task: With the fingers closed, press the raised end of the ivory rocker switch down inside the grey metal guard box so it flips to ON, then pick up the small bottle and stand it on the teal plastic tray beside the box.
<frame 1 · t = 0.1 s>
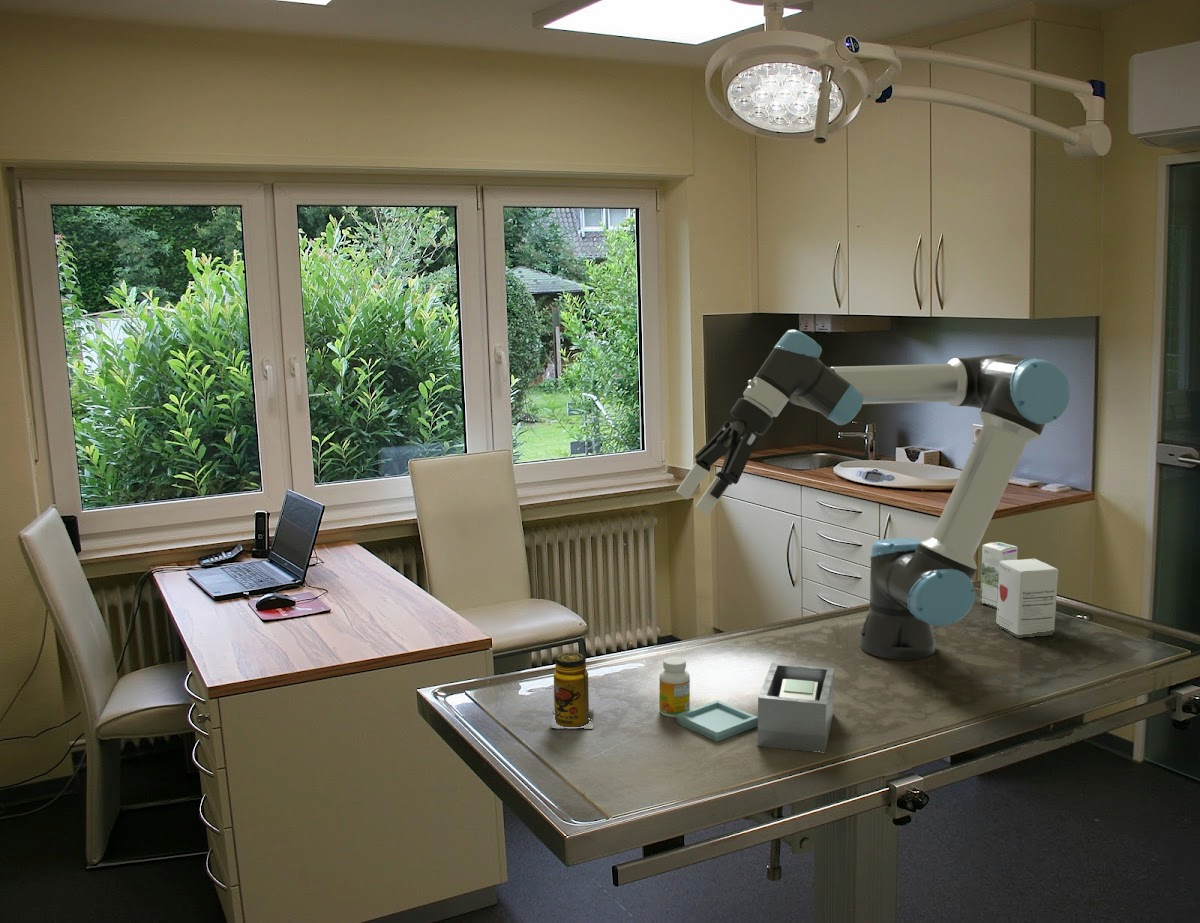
hand: (691, 503, 203), 36 cm above the table, tool tilted 35°, fingers open, 13 cm apart
tray: (717, 724, 193), on the table
condiment: (572, 721, 195), on the table
supplement bottle: (674, 713, 198), on the table
guard box: (796, 729, 191), on the table
supplement box: (1024, 632, 240), on the table
syrup box: (997, 606, 258), on the table
rocker: (797, 700, 190), point 5 cm above the table, hinge at 13.0°
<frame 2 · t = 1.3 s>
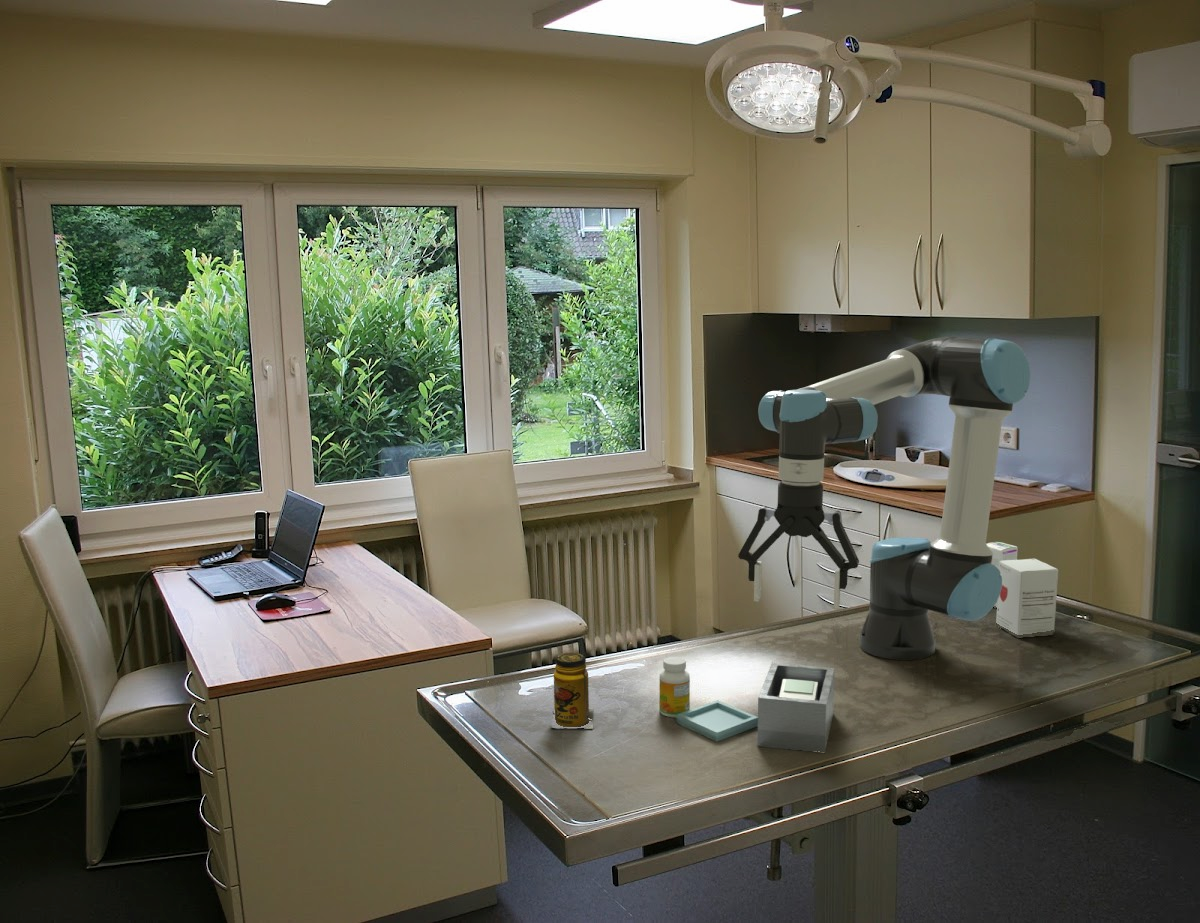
hand: (796, 603, 191), 21 cm above the table, tool pointing down, fingers open, 13 cm apart
nothing on the table moved.
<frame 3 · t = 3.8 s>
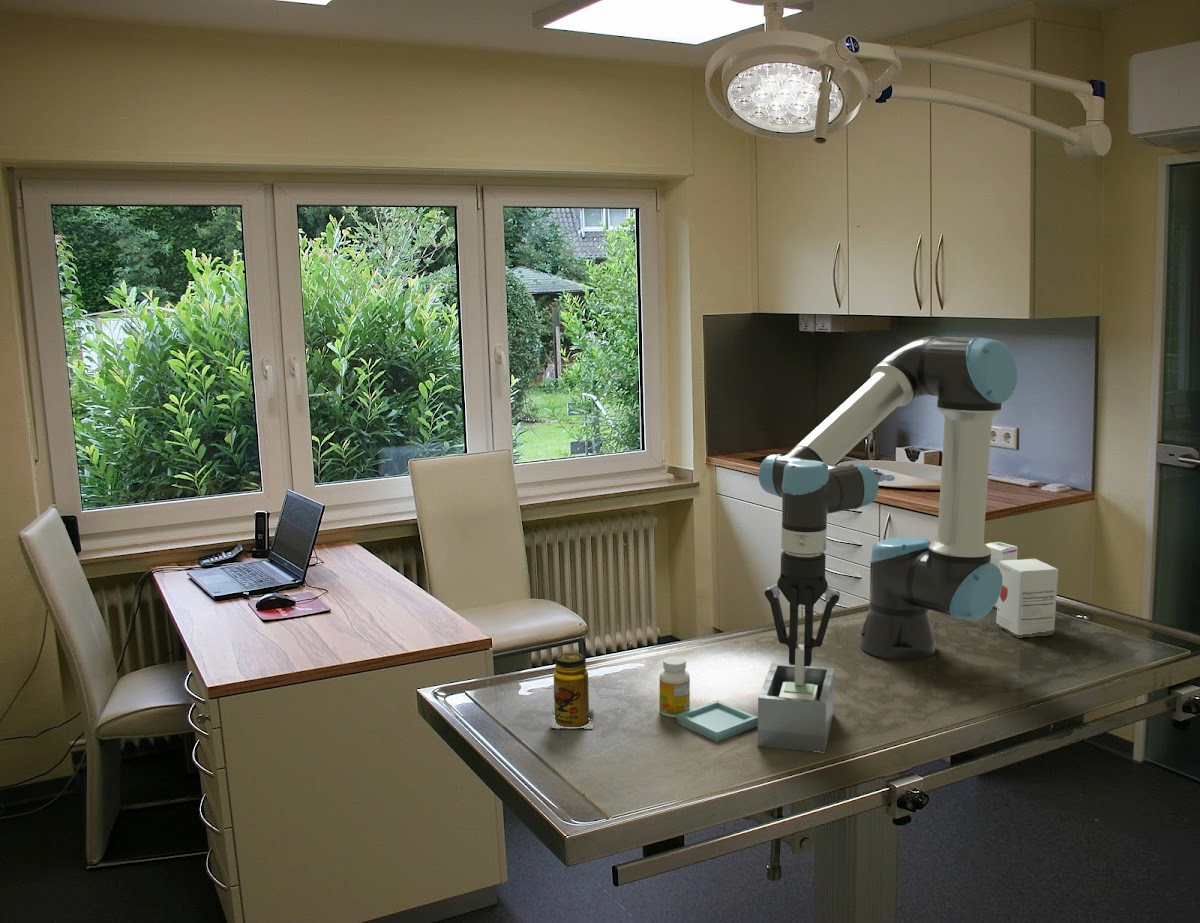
hand: (799, 682, 193), 7 cm above the table, tool pointing down, fingers closed
rocker: (797, 700, 190), point 5 cm above the table, hinge at 4.9°, touching gripper
everything else where it was.
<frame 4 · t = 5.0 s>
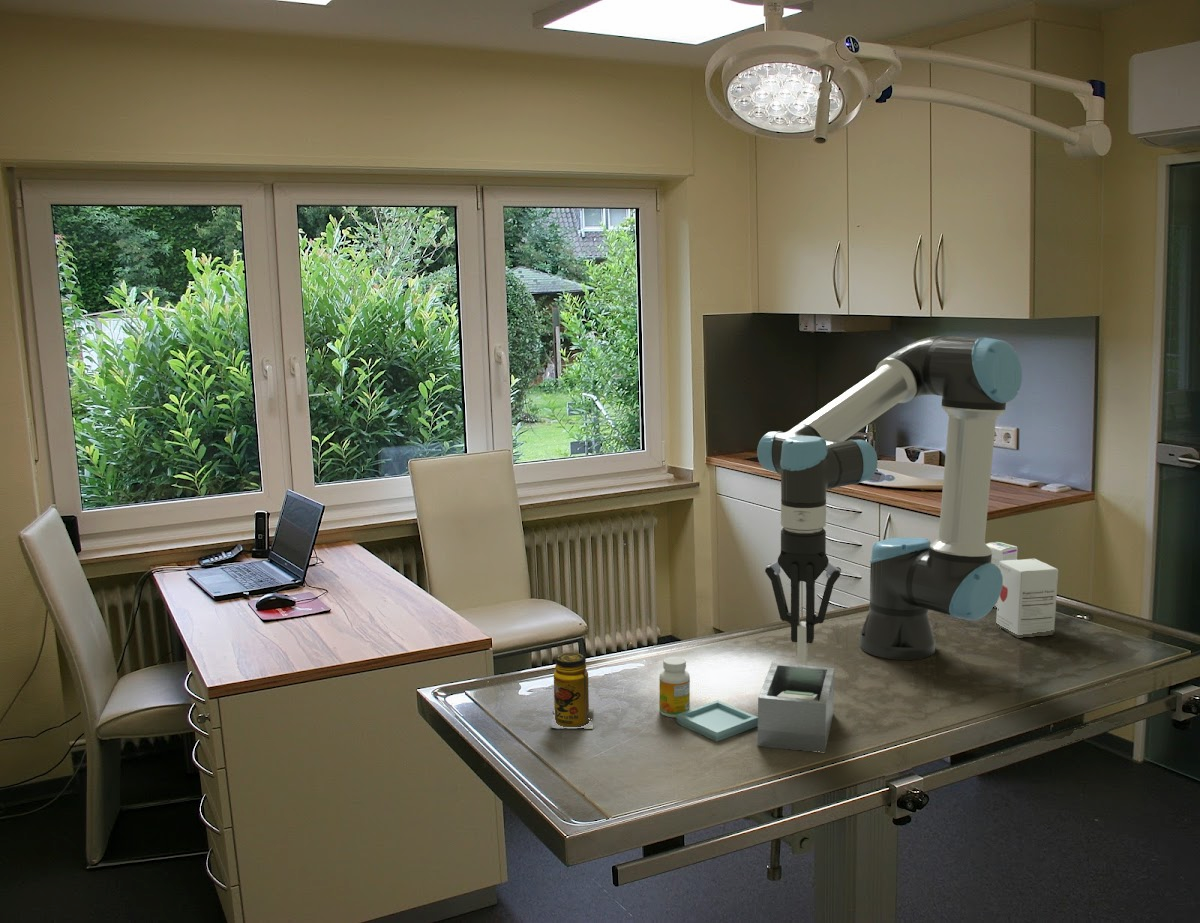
hand: (802, 659, 192), 11 cm above the table, tool pointing down, fingers closed
rocker: (797, 700, 190), point 5 cm above the table, hinge at -15.8°
everything else where it was.
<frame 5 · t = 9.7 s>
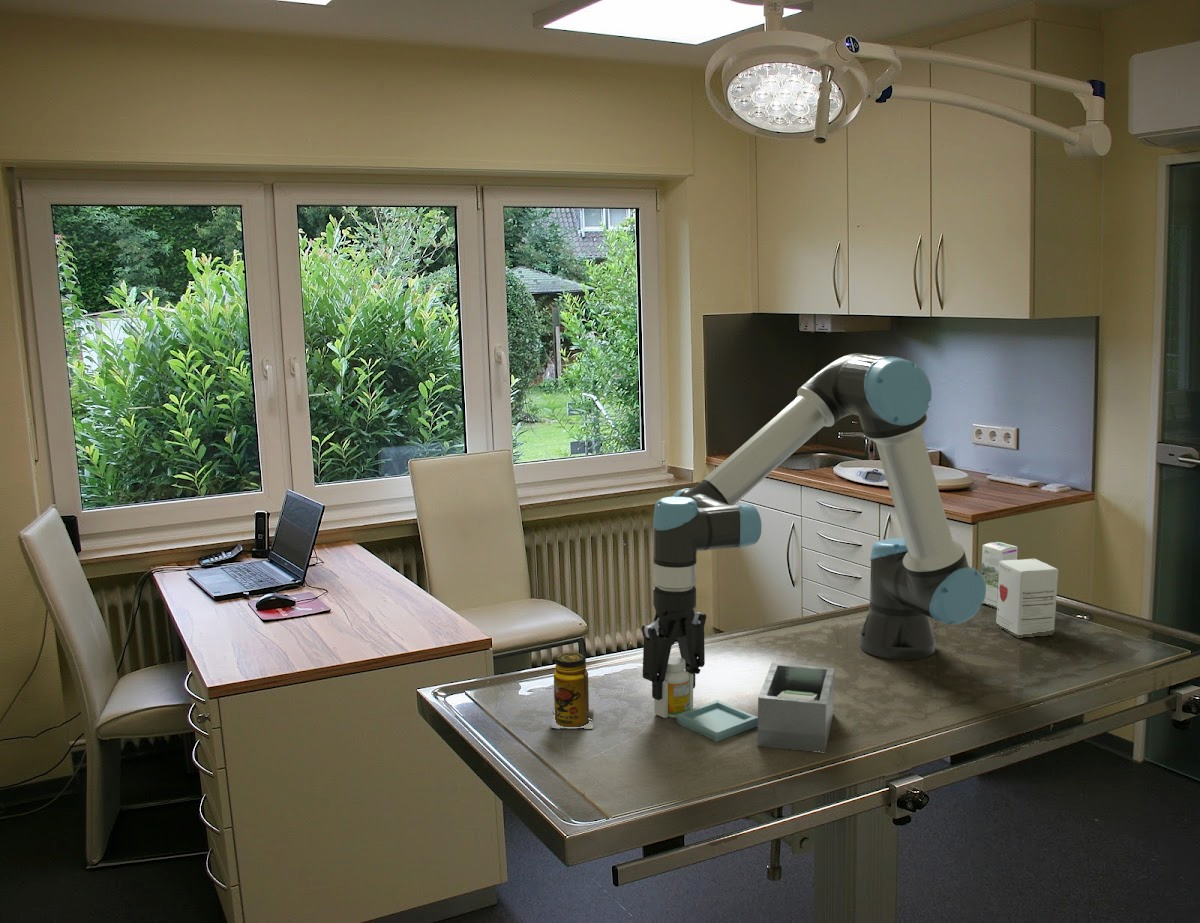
hand: (673, 710, 198), 0 cm above the table, tool pointing down, fingers closed on supplement bottle, 5 cm apart
supplement bottle: (674, 713, 198), on the table, touching gripper
rocker: (797, 700, 190), point 5 cm above the table, hinge at -15.4°
everything else where it was.
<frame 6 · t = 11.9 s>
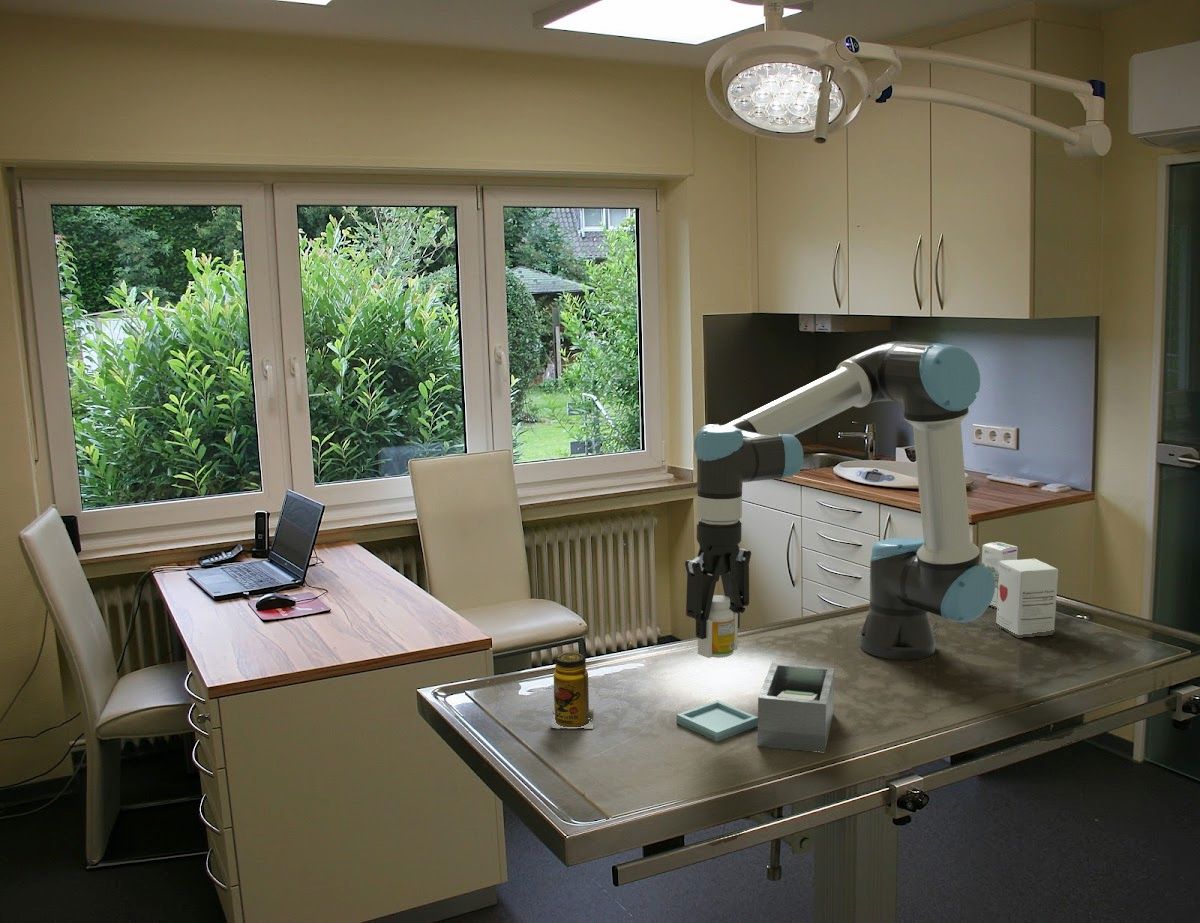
hand: (717, 651, 190), 13 cm above the table, tool pointing down, fingers closed on supplement bottle, 5 cm apart
supplement bottle: (717, 654, 191), point 13 cm above the table, touching gripper
everything else where it was.
when the fingers open (2 cm above the table, at t = 14.0 s): supplement bottle drops 1 cm, resting on tray.
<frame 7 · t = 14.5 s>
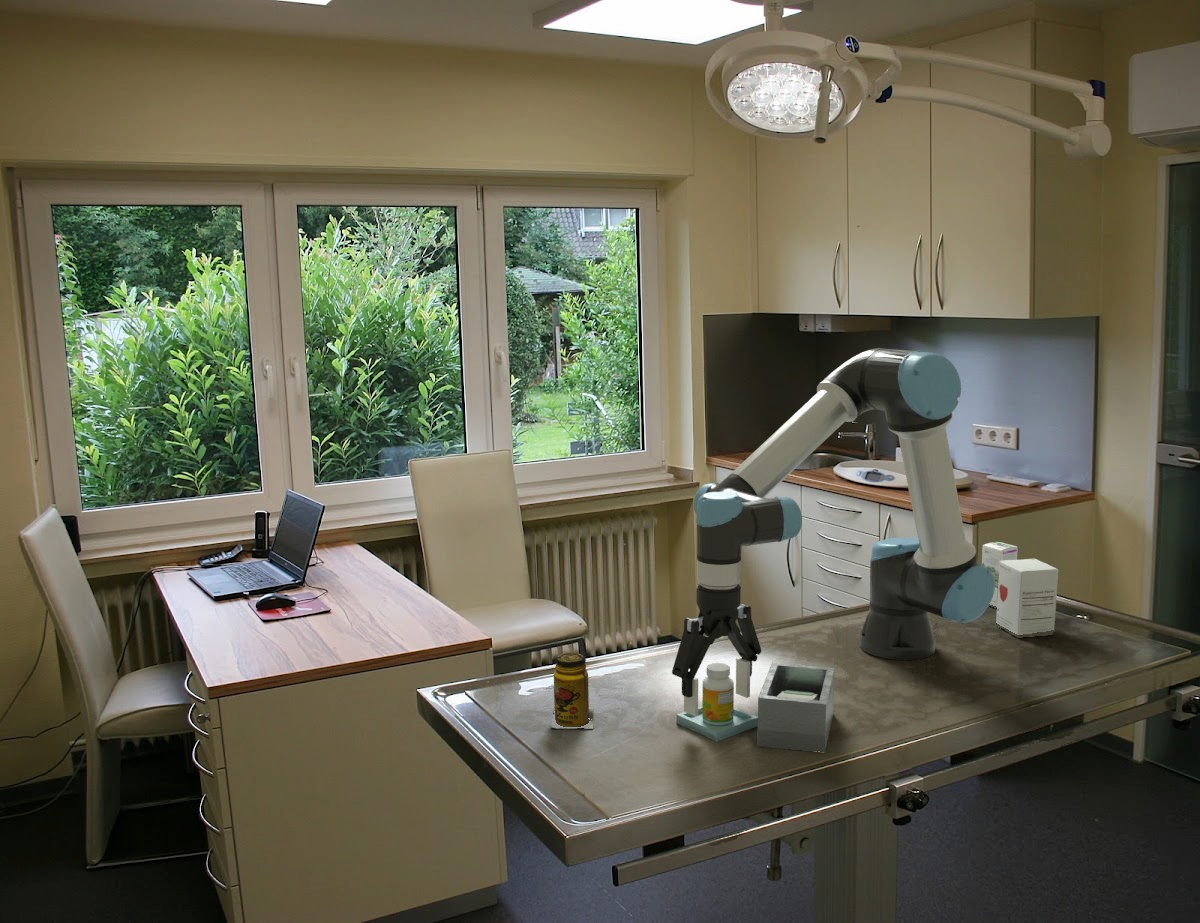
hand: (717, 704, 192), 4 cm above the table, tool pointing down, fingers open, 12 cm apart
supplement bottle: (717, 721, 193), point 1 cm above the table, touching tray
everything else where it was.
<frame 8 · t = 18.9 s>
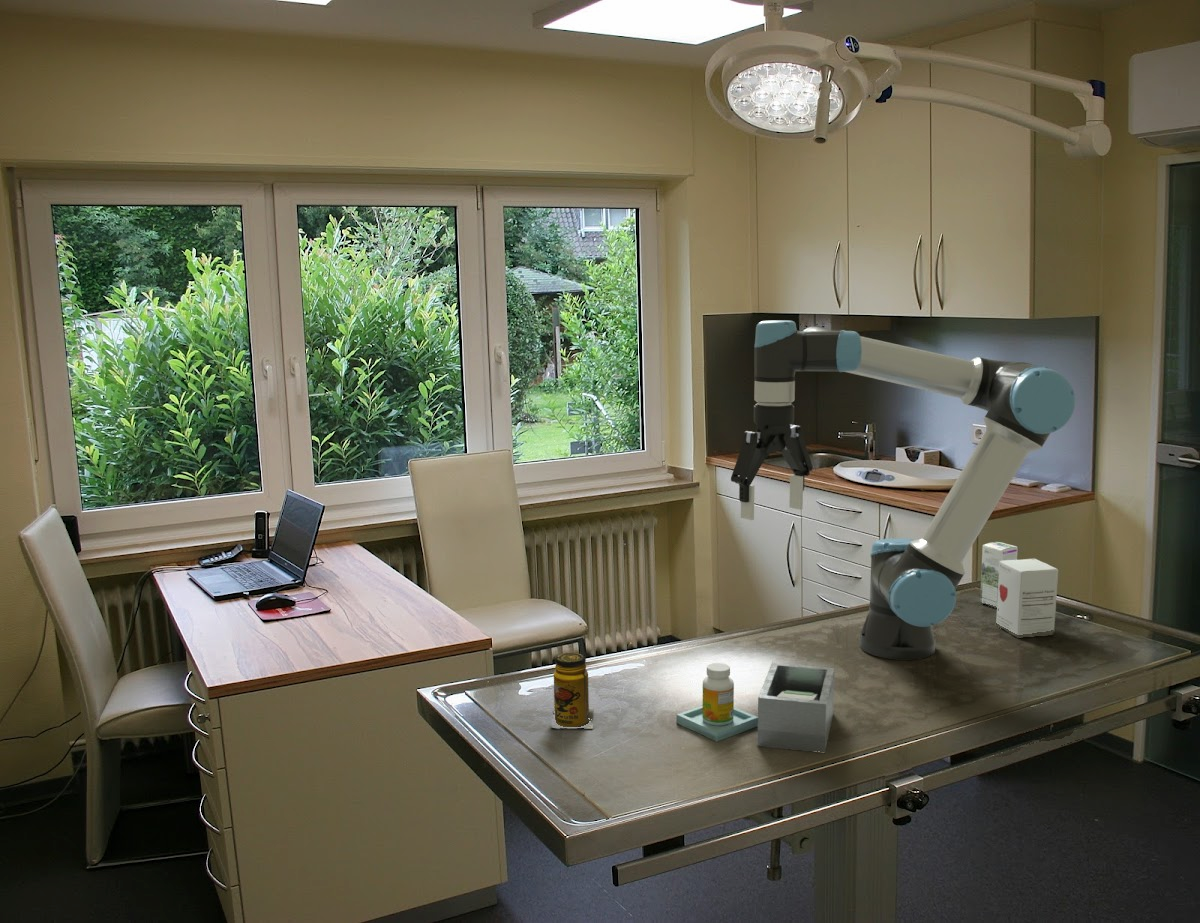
hand: (772, 513, 212), 32 cm above the table, tool pointing down, fingers open, 13 cm apart
nothing on the table moved.
at the end: rocker at -15° (first picture: +13°); supplement bottle 0.1 cm from the tray (horizontally); supplement bottle tilted 0° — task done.
